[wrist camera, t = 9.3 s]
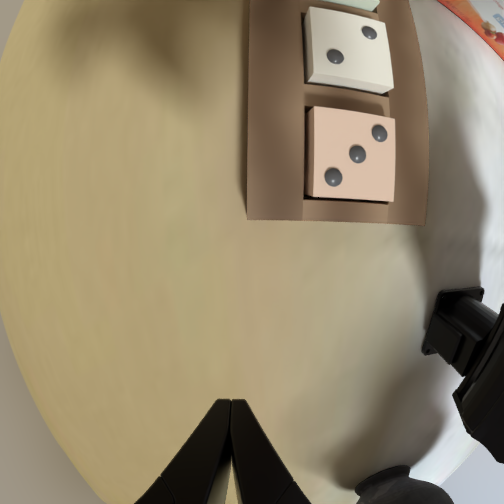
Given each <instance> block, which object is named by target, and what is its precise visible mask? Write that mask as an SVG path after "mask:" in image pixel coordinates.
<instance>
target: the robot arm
mask: <svg viewBox="0 0 504 504" xmlns="http://www.w3.org/2000/svg"><path fill="white" fill-rule="evenodd" d="M483 295H484V288H482V287H473V288H464V289H454V290H443V291H441V292H440V293H439V294H438V297H437V301H436V305H435V309H434V313H433V316H432V320H431V323H430V327H429V330H428V333H427V336H426V339H425V342H424V345H423V348H422V353H423V354H424V355H431V354H435V353H438V354H439V355H440V356H441V357H442V358H443V359H444V360H445V361H446V362H447V363H448V364H449V365H450V364H451V365H452V366H453V367H454V369H455V370H456V371H457V372H458V373H459V374H460V375H461V376H462V377H464V376H465V378H464V379H463V381H462V382H461V384H460V385H459V387H458V388H457V389H456V390H455V391H454V393H453V394H452V396H453V399H454V401H455V404H456V406H457V409H458V411H459V414H460V416H461V419H462V422H463V425H464V427H465V429H466V432H467V433H468V434H470V435H471V437H472V438H474V439H476V440H477V441H479V442H480V443H481V444H483V445H484V446H485V447H486V448H487V449H488V451H489V452H490V453H491V454H492V456H493V457H494V458H495V460H496V461H497V462H499V463H503V464H504V303H503V304H502V306H501V309H500V310H501V311H500V313H499V314H497V313H496V312H494V311H493V310H491V309H490V308H489V307H487V306H486V305H484V304H483V303H481V302H482V298H483ZM442 297H443V298H442ZM231 461H232V467H233V474H234V481H235V487H236V493H237V499H238V504H311V502H310V501H309V500H308V499H307V497H306V496H305V495H304V493H303V492H302V491H301V489H300V488H299V486H298V485H297V483H296V482H295V481H293V480H294V479H293V477H292V476H291V474H290V473H289V471H288V470H287V468H286V467H285V465H284V463H283V462H282V460H281V459H280V457H279V456H278V454H277V452H276V451H275V449H274V447H273V446H272V444H271V443H270V441H269V439H268V438H267V436H266V434H265V432H264V431H263V429H262V427H261V426H260V424H259V422H258V421H257V419H256V417H255V415H254V414H253V412H252V410H251V408H250V406H249V405H248V403H247V401H246V400H245V399H232V401H231V400H230V399H217V400H216V401H215V402H214V404H213V405H212V407H211V408H210V409H209V411H208V412H207V414H206V415H205V416H204V418H203V419H202V421H201V422H200V423H199V425H198V426H197V427H196V429H195V430H194V431H193V433H192V434H191V435H190V437H189V438H188V439H187V441H186V442H185V443H184V445H183V446H182V447H181V449H180V450H179V451H178V453H177V454H176V455H175V457H174V458H173V459H172V460H171V462H170V463H169V464H168V466H167V467H166V468H165V469H164V471H163V472H162V473H161V476H159V477H158V478H157V479H156V480H155V482H154V483H153V484H152V485H151V486H150V488H149V489H148V490H147V491H146V492H145V493H144V494H143V495H142V497H140V498H139V499H138V500H137V501H136V502H135V503H134V504H225V500H226V494H227V488H228V482H229V476H230V470H231Z"/></svg>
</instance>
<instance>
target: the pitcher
mask: <svg viewBox="0 0 504 504" xmlns="http://www.w3.org/2000/svg"><path fill="white" fill-rule="evenodd" d="M409 473H410V467H409V466H398V467H394V468H391V469H387V470H385V471H382V472H380V473H378V474H375V475H374V476H372V477H370V478H368V479H366V480H365V481H363V482H362V483H360V484H359V485H358V486H357V487H356V489H355V493H356V494H357V495H359V496H360V499H359V500H358V502H357V503H356V504H454V503H453V501H452V499H451V498H450V496H449V495H448V494H447V493H446V492H445V491H444V490H443V489H442V488H440V487H438V486H437V485H435V484H432V483H429V482H426V481H421V480H416V479H413V478H410V477H409Z"/></svg>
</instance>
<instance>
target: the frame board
mask: <svg viewBox="0 0 504 504" xmlns="http://www.w3.org/2000/svg"><path fill="white" fill-rule="evenodd" d="M379 1H380V3H379V4H378V5H377V6H376V7H375V8H374V10H373V11H372V12H370V11H366V10H362V9H358V8H354V7H350V6H345V5H341V4H336V3H330V2H325V1H319V0H250V12H249V67H248V139H247V220H295V221H334V222H361V223H384V224H403V225H420V226H425V220H426V210H427V197H428V179H429V127H428V109H427V97H426V88H425V79H424V72H423V65H422V59H421V53H420V47H419V42H418V37H417V33H416V28H415V24H414V20H413V16H412V12H411V8H410V5H409V1H408V0H379ZM309 7H316V8H323V9H328V10H334V11H339V12H344V13H349V14H353V15H357V16H361V17H365V18H369V19H373V20H376V21H380V22H383V23H385V26H386V32H387V38H388V44H389V50H390V58H391V65H392V74H393V84H394V88H393V89H391V90H389V91H387V92H385V93H383V94H381V95H374V94H369V93H364V92H359V91H353V90H347V89H341V88H334V87H326V86H318V85H309V84H304V70H303V45H302V23H303V21H304V18H305V16H306V14H307V11H308V9H309ZM314 106H317V107H326V108H334V109H342V110H349V111H355V112H361V113H367V114H373V115H378V116H383V117H388V118H393V119H395V185H394V202H390V201H377V200H375V201H362V200H346V199H328V198H304V197H303V190H304V113H308V112H309V111H310V110H311V109H312V108H313V107H314Z"/></svg>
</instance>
